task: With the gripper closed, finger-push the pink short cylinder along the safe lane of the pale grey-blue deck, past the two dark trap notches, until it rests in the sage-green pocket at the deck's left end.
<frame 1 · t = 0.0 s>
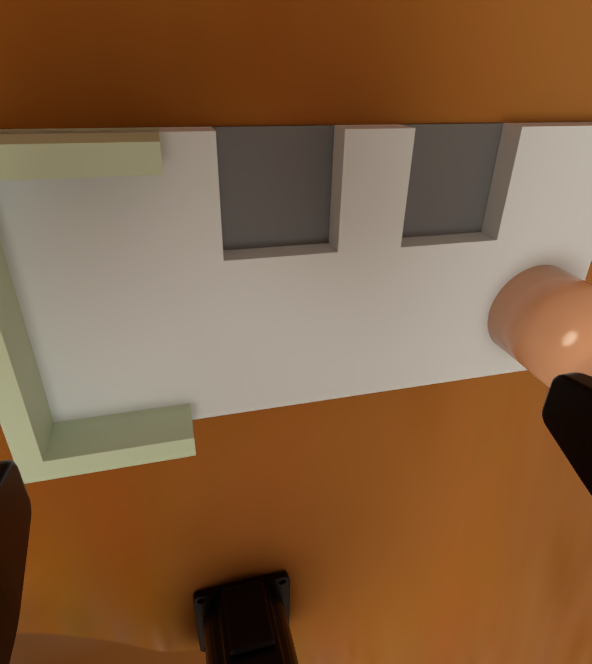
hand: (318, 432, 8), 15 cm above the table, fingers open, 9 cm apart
deck: (325, 271, 23), on the table
pink short cylinder: (529, 309, 25), point 1 cm above the table, touching deck
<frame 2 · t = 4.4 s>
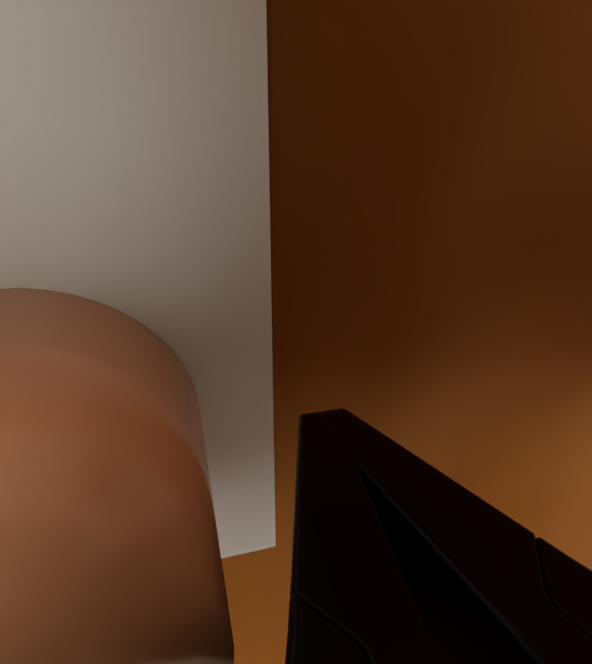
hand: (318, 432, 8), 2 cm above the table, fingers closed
pink short cylinder: (41, 432, 8), point 2 cm above the table, touching gripper
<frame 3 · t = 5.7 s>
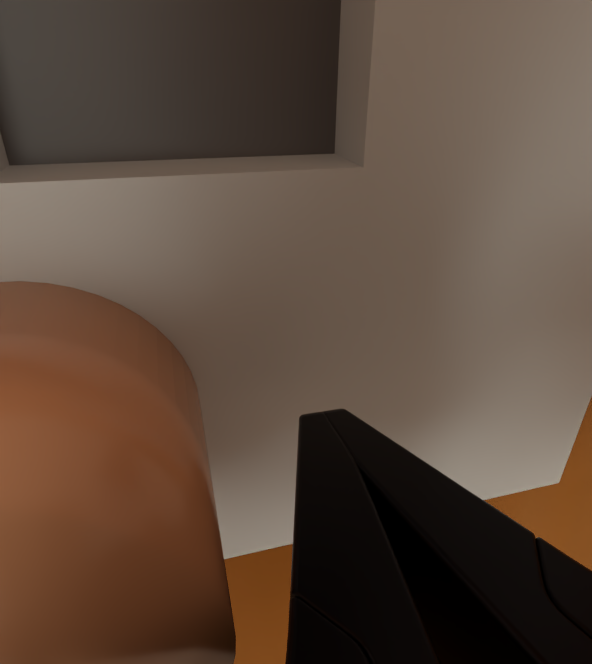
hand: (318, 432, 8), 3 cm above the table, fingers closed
pink short cylinder: (41, 426, 8), point 2 cm above the table, touching gripper
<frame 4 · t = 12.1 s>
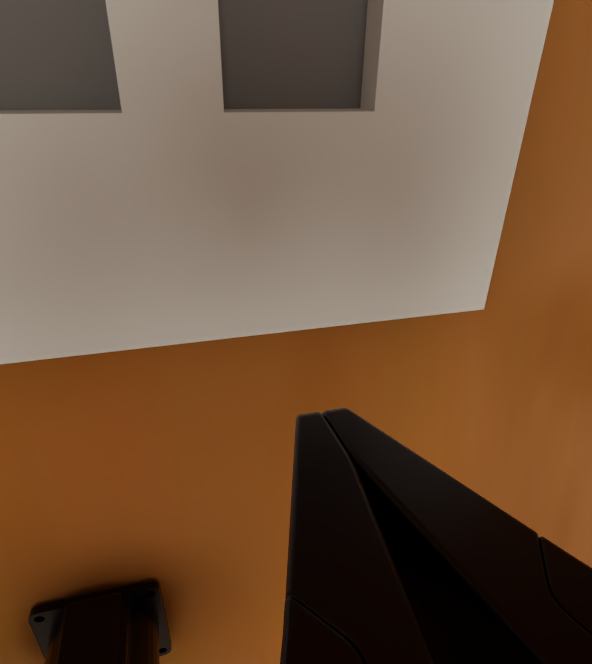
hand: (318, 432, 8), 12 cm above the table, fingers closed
deck: (131, 158, 16), on the table
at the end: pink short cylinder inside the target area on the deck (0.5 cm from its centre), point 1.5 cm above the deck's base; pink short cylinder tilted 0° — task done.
